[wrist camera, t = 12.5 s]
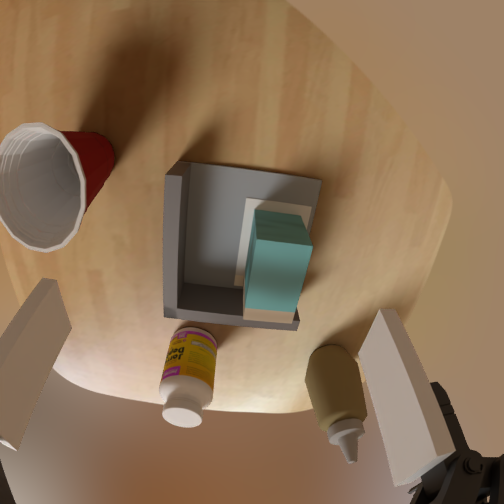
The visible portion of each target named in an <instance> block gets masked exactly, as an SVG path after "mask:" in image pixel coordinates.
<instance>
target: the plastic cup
mask: <svg viewBox="0 0 504 504" xmlns="http://www.w3.org/2000/svg"><path fill="white" fill-rule="evenodd" d="M113 166H114V151H113V148H112V145H111V144H110V143H109V141H108V140H107V139H106V138H105V137H104V136H102V135H100V134H98V133H95V132H74V131H59V130H56V129H54V128H52V127H50V126H48V125H46V124H44V123H24V124H21V125H20V126H18V127H17V128H15V129H14V130H13V131H11V132H10V133H8V134H7V135H6V137H5V138H4V140H3V141H2V143H1V145H0V220H1V222H2V223H3V225H4V226H5V227H6V229H7V230H8V232H9V233H10V234H11V236H12V237H13V238H14V239H15V240H17V241H18V242H20V243H21V244H22V245H24V246H25V247H27V248H28V249H31V250H36V251H40V252H45V253H48V252H51V251H54V250H57V249H60V248H63V247H64V246H65V245H66V244H67V243H68V242H69V241H70V240H71V239H72V237H73V236H74V235H75V234H76V233H77V232H78V230H79V227H80V224H81V221H82V218H83V215H84V214H85V212H86V211H87V208H88V206H89V205H90V204H91V202H92V201H93V199H94V198H95V196H96V195H97V194H98V192H99V191H100V189H101V188H102V187H103V185H104V182H105V181H106V180H107V178H108V177H109V176H110V173H111V171H112V168H113Z"/></svg>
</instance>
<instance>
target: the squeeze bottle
mask: <svg viewBox="0 0 504 504" xmlns="http://www.w3.org/2000/svg"><path fill="white" fill-rule="evenodd" d="M305 383H306V386H307V389H308V392H309V396H310V399H311V402H312V405H313V409H314V412H315V415H316V418H317V422H318V425H319V427H320V429H321V430H323V431H326V432H327V434H328V439H329V442H330V443H331V444H334V445H339V446H340V448H341V450H342V452H343V454H344V456H345V458H346V460H347V462H348V463H349V464H351V463H354V462H356V461H357V452H358V451H357V450H358V439H360V438H361V437H362V436H363V435H364V433H365V431H364V427H363V423H362V422H363V421H364V420H365V418H366V417H367V410H366V404H365V398H364V393H363V388H362V382H361V377H360V372H359V367H358V363H357V362H356V361H355V360H354V359H353V358H352V357H351V355H350V354H349V353H348V352H347V351H346V350H345V349H344V348H343V347H341V346H338V345H327V346H324V347H321V348H319V349H317V350H316V351H314V352H313V353H312V355H311V356H310V359H309V363H308V368H307V372H306V377H305Z"/></svg>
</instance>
